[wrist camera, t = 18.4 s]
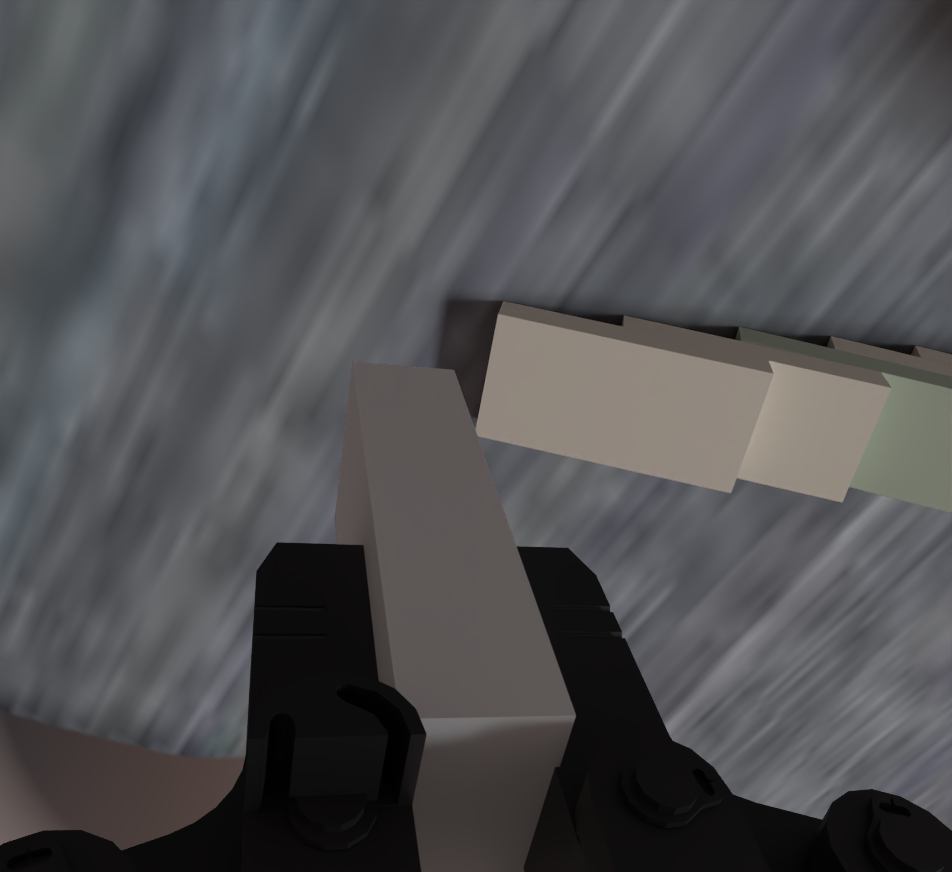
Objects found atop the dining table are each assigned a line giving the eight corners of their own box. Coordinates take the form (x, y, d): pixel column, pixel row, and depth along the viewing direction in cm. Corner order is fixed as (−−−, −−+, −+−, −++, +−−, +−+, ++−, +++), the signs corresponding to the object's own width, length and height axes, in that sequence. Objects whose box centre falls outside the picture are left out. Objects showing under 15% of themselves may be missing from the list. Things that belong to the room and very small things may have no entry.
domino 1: (474, 435, 34) (731, 493, 33) (497, 313, 31) (773, 373, 31) (480, 418, 35) (726, 473, 35) (503, 300, 33) (767, 357, 32)
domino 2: (592, 444, 35) (842, 502, 34) (623, 328, 33) (891, 387, 32) (594, 427, 36) (834, 483, 36) (624, 315, 34) (880, 372, 33)
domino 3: (704, 450, 36) (950, 512, 35) (740, 339, 34) (1006, 401, 33) (703, 434, 38) (940, 494, 36) (739, 326, 35) (993, 386, 34)
